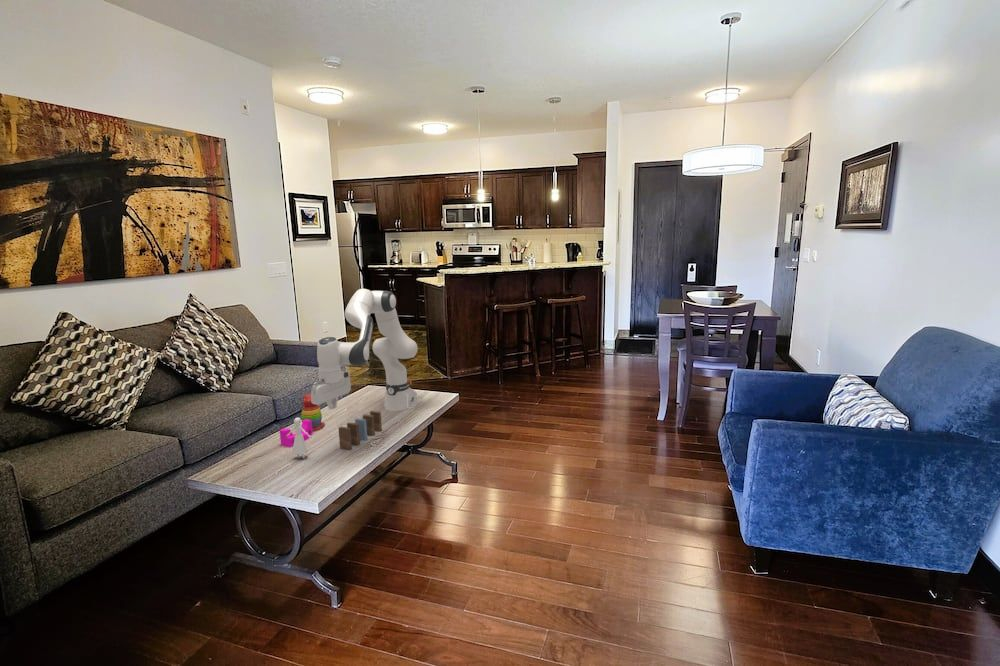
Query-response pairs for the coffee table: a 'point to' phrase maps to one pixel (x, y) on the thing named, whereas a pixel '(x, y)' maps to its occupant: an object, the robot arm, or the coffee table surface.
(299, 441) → the woman figurine
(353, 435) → the domino
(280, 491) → the coffee table surface
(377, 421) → the domino
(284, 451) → the coffee table surface
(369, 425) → the domino
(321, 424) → the stacking bear
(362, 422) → the domino
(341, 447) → the domino
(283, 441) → the toy block
